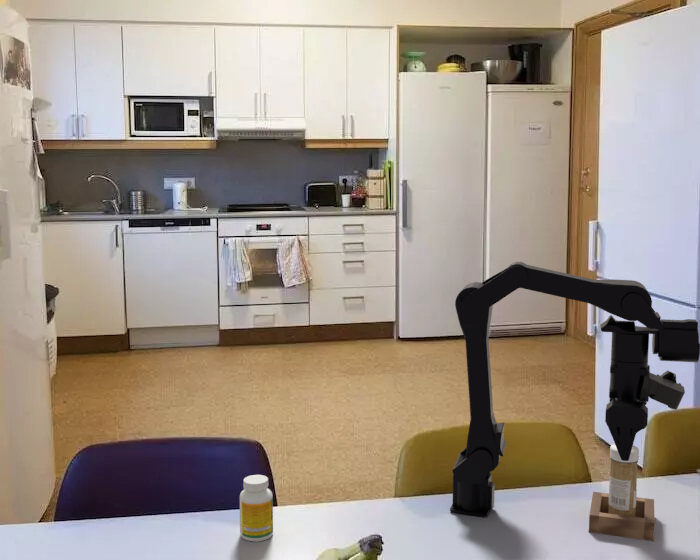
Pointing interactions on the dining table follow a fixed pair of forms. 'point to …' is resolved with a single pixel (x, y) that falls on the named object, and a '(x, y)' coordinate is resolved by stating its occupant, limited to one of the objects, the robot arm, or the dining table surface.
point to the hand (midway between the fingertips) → (625, 450)
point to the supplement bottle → (256, 509)
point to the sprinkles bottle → (623, 483)
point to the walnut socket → (622, 519)
